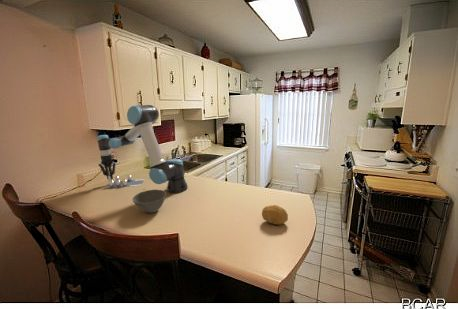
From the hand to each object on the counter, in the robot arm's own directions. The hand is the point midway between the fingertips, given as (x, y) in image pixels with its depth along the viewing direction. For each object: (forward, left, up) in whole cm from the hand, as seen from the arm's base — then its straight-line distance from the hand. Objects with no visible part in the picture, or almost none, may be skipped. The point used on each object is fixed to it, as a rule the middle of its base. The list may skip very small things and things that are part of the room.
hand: (110, 183), depth 175 cm
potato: (-112, +76, -3) cm, 135 cm away
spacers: (-8, 0, -2) cm, 8 cm away
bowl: (-43, +51, -3) cm, 67 cm away
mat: (-11, 0, -2) cm, 12 cm away
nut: (-8, 0, -1) cm, 8 cm away
